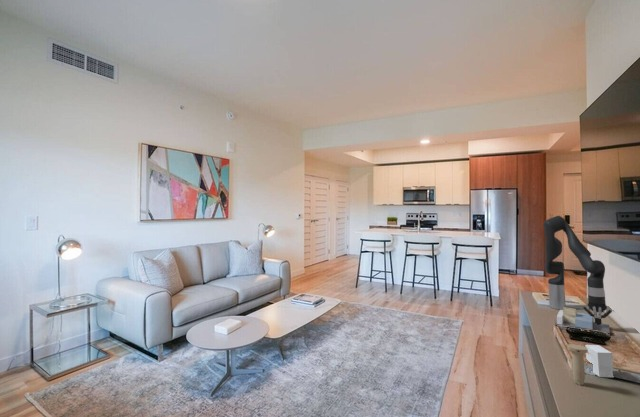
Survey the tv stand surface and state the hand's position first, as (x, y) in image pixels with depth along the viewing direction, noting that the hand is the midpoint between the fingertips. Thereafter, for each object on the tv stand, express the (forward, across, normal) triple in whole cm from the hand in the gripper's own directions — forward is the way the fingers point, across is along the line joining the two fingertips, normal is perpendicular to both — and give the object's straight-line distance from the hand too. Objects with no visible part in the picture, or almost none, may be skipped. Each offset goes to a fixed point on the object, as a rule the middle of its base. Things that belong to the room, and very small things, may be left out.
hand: (598, 324), depth 177 cm
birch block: (+1, -13, 0) cm, 13 cm away
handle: (+3, -5, -77) cm, 77 cm away
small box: (+3, +1, -61) cm, 61 cm away
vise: (+3, -8, 0) cm, 8 cm away
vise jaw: (+1, -6, 0) cm, 6 cm away
